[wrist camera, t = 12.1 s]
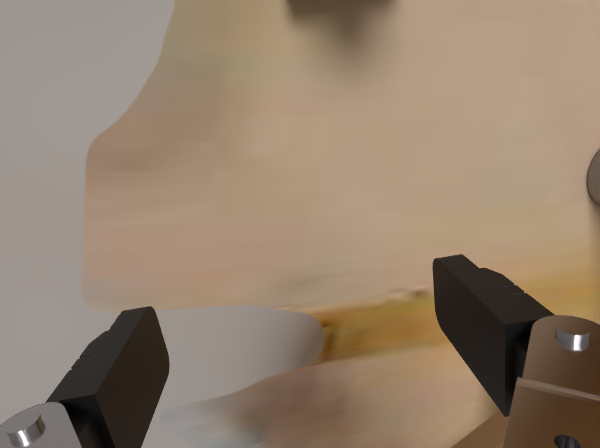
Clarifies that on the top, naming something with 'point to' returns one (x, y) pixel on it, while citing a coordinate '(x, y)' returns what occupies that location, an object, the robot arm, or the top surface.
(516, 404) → the robot arm
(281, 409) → the top surface
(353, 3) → the top surface
